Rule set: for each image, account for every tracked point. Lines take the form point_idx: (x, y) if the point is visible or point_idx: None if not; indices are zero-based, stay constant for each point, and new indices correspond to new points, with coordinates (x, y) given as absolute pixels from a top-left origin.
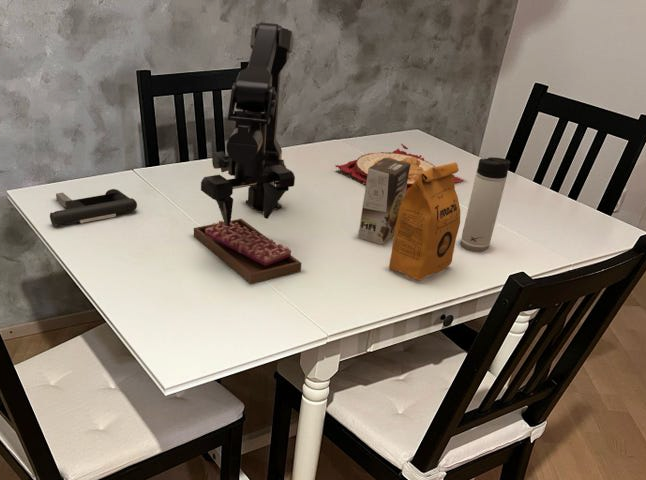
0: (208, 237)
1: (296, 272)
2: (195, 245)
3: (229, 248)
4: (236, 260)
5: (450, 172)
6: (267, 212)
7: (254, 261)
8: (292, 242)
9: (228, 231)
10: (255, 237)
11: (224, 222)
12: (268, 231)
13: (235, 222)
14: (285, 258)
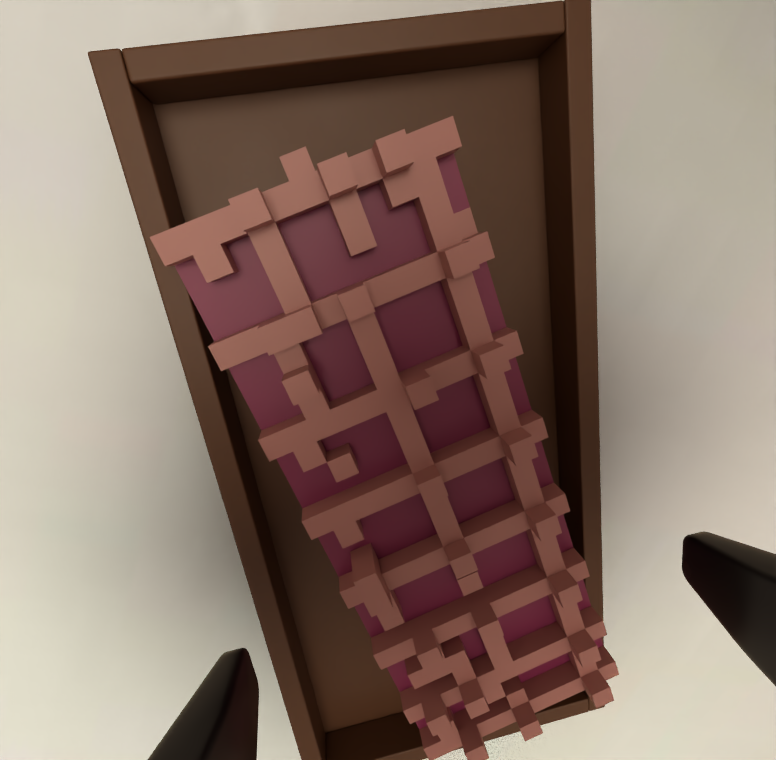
0: (187, 302)
1: None
2: (111, 255)
3: None
4: (287, 654)
5: None
6: (749, 649)
7: None
8: (716, 378)
9: (354, 334)
10: (510, 474)
11: (208, 679)
12: (681, 187)
13: (516, 43)
14: None
